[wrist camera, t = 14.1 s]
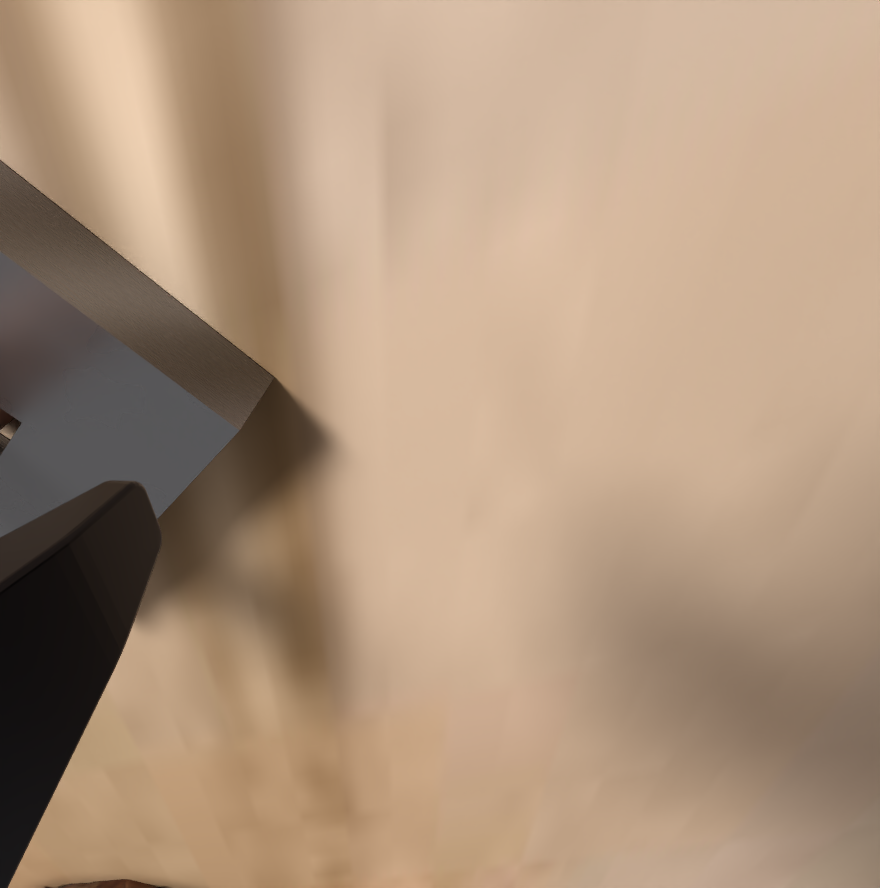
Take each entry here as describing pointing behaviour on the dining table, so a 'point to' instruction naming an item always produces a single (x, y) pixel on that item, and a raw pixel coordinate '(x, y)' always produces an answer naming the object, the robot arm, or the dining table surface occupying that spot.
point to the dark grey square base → (102, 369)
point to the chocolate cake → (111, 884)
